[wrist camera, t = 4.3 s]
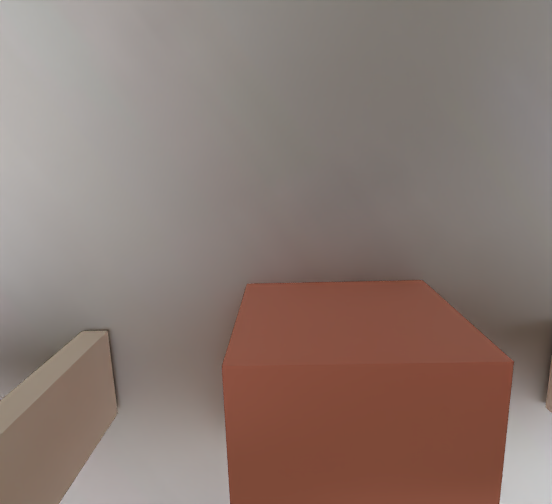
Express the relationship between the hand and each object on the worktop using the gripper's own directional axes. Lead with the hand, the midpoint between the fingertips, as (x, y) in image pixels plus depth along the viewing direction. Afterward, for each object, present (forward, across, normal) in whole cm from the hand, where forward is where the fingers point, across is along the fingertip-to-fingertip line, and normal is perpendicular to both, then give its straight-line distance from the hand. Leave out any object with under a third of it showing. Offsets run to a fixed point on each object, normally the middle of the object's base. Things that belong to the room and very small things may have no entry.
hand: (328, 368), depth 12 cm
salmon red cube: (0, 0, 0) cm, 0 cm away
